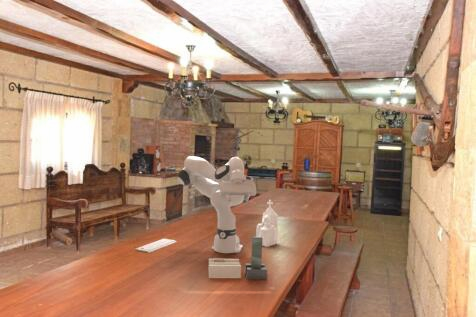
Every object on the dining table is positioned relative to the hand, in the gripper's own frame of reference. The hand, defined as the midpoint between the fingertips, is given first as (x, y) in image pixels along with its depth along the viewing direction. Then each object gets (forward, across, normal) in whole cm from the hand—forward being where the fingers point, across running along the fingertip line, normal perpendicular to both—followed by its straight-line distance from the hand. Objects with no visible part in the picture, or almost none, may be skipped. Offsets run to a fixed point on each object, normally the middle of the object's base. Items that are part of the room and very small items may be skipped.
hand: (238, 200), depth 222 cm
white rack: (+34, -7, +18) cm, 40 cm away
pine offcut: (+32, -10, +19) cm, 39 cm away
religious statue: (-10, +27, +63) cm, 70 cm away
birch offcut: (+32, -4, +19) cm, 38 cm away
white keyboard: (-4, -46, +58) cm, 74 cm away
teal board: (+36, +9, +16) cm, 40 cm away
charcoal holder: (+37, +9, +16) cm, 41 cm away
